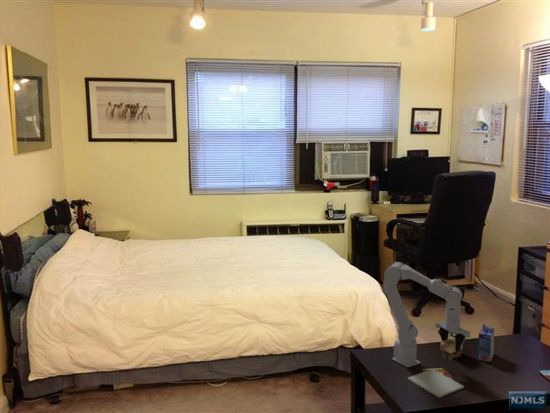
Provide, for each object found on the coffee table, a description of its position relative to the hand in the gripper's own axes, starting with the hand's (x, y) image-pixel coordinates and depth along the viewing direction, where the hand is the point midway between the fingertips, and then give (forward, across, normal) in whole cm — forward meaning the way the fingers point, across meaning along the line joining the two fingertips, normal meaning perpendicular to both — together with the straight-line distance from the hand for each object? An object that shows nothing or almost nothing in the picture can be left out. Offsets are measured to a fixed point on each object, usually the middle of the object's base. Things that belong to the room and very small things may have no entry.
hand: (451, 348), depth 196 cm
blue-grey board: (+10, -1, +13) cm, 17 cm away
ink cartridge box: (+11, -3, -25) cm, 27 cm away
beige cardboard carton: (+3, 0, 0) cm, 4 cm away
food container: (+11, +6, -18) cm, 21 cm away
